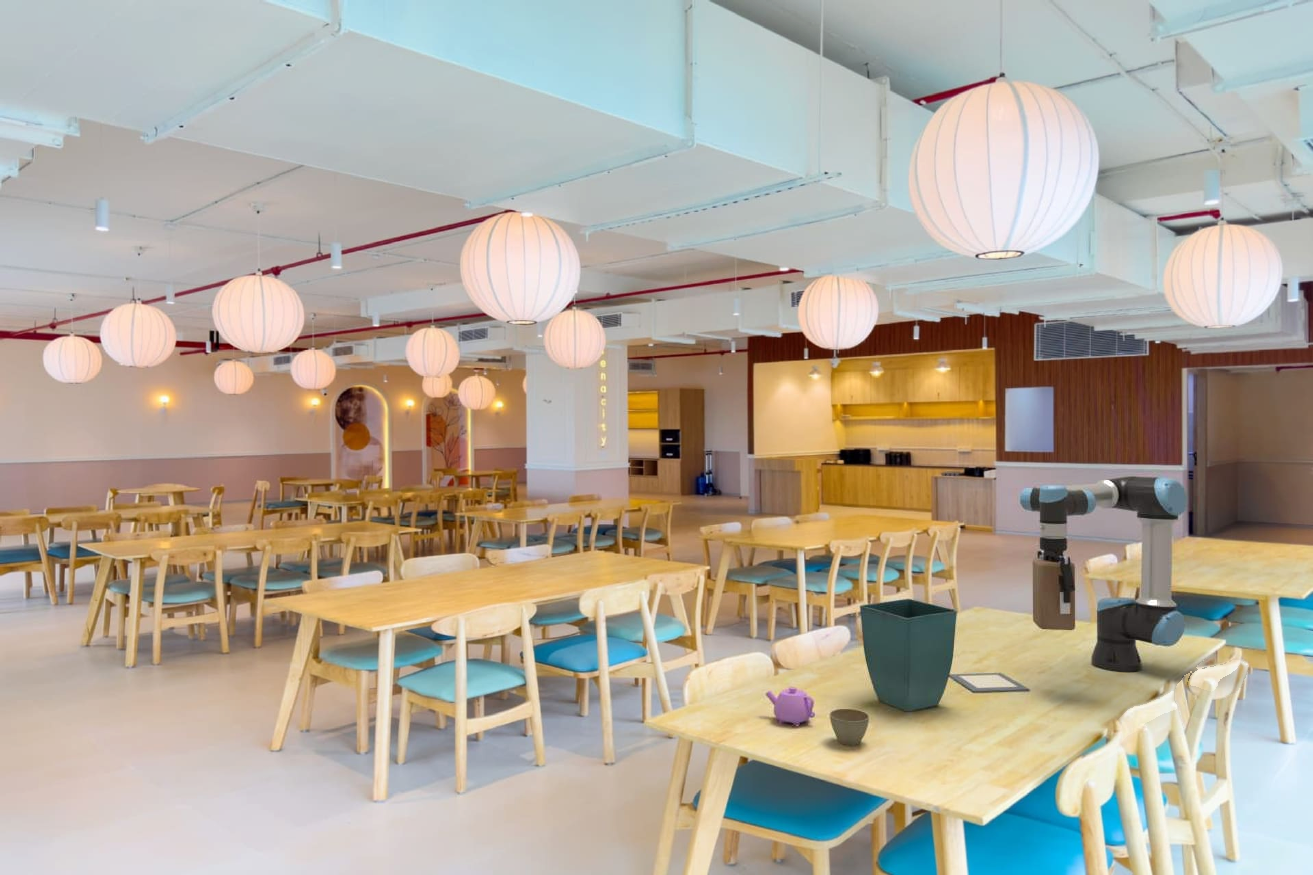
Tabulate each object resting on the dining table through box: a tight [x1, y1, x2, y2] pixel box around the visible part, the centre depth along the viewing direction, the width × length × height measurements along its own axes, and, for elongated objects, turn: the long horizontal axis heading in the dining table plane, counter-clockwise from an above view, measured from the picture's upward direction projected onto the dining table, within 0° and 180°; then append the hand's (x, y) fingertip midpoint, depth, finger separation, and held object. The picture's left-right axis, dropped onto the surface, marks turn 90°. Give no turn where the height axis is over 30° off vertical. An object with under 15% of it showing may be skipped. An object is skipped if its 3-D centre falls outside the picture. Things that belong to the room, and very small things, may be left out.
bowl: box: [829, 708, 870, 746], centre depth 224 cm, size 10×10×7 cm
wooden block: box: [1032, 557, 1076, 631], centre depth 261 cm, size 10×10×20 cm
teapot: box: [765, 686, 816, 726], centre depth 240 cm, size 10×15×9 cm
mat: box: [949, 672, 1031, 694], centre depth 275 cm, size 18×18×1 cm
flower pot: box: [859, 598, 958, 712], centre depth 255 cm, size 20×20×28 cm
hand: (1053, 609), depth 261 cm, fingers closed on wooden block, 11 cm apart
